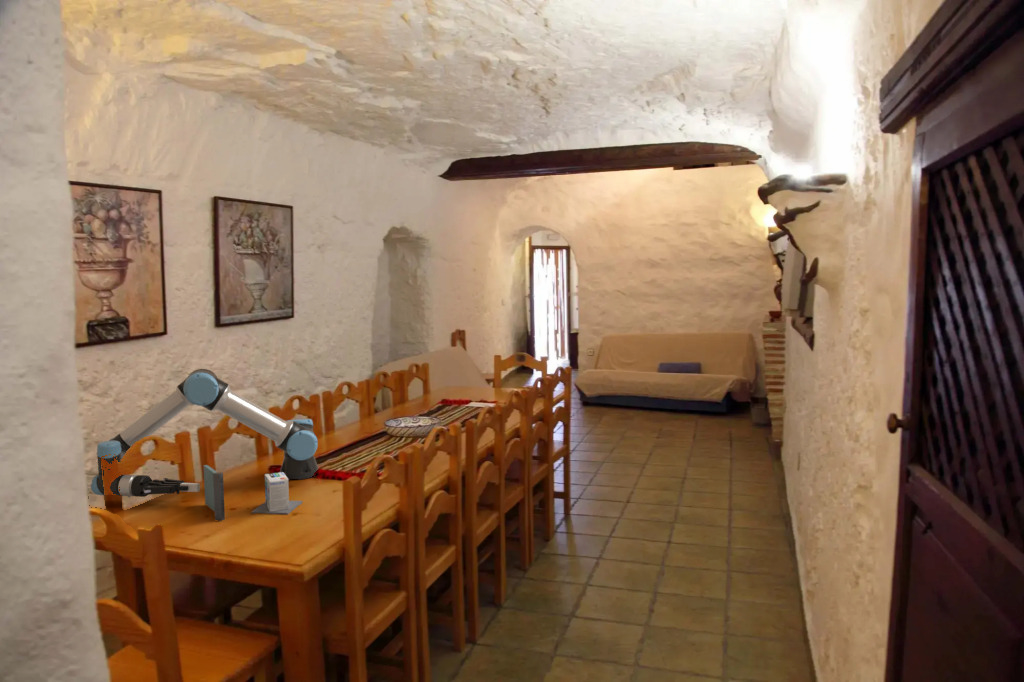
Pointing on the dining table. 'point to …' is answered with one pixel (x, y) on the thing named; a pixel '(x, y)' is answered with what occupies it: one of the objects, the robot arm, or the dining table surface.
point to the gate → (209, 486)
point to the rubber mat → (264, 509)
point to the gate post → (219, 496)
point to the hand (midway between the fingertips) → (198, 487)
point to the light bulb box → (276, 491)
